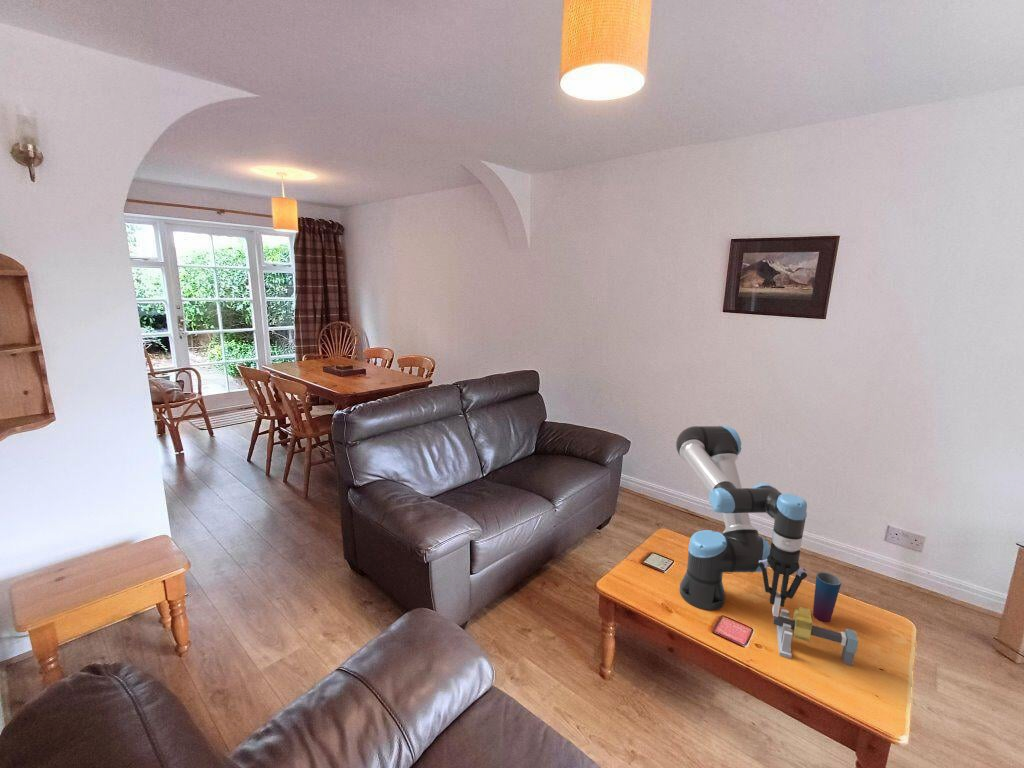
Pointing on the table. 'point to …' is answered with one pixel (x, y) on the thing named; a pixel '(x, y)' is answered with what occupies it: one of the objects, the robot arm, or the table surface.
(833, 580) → the cup
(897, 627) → the table surface
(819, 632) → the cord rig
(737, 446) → the robot arm
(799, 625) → the sleeve
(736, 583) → the table surface
